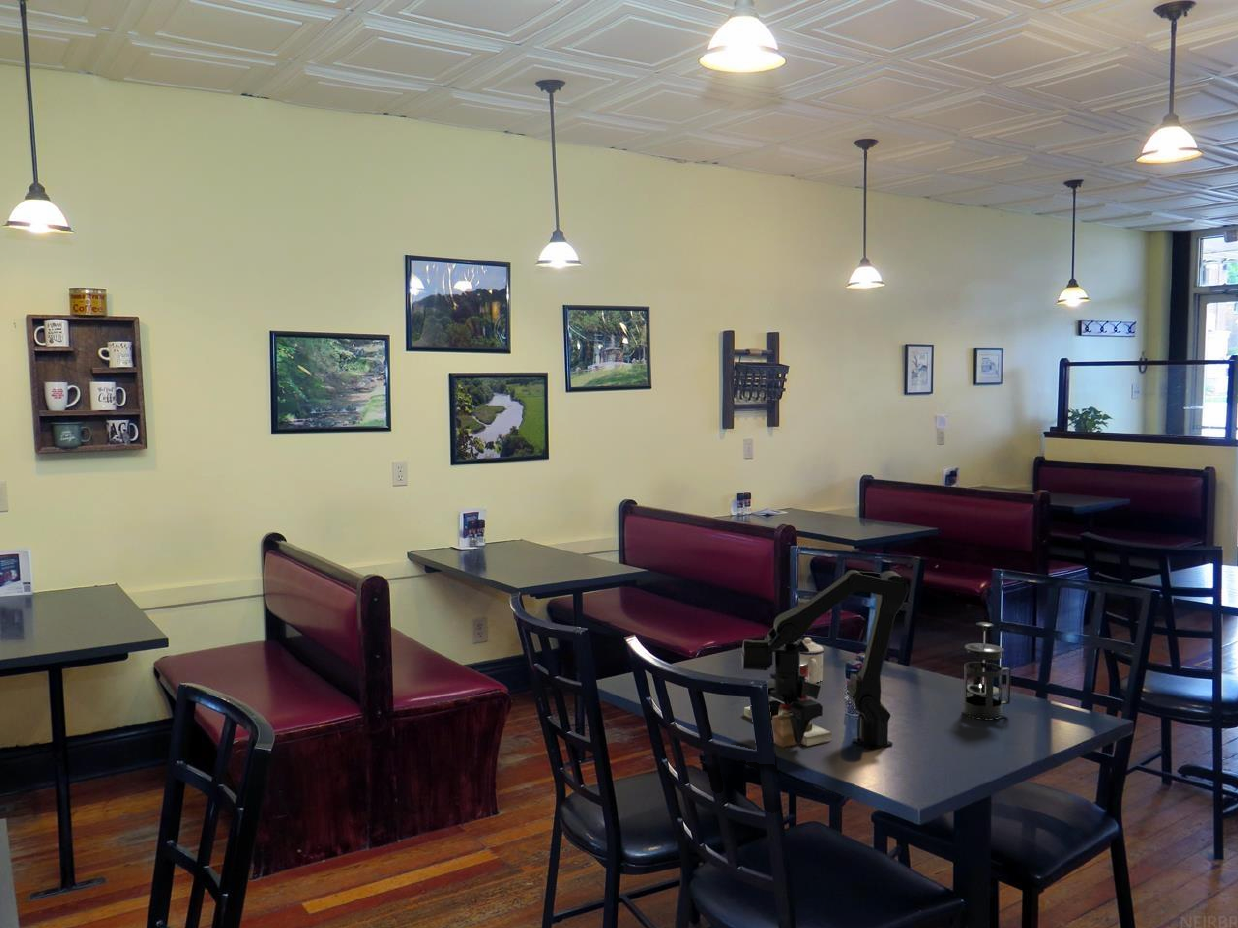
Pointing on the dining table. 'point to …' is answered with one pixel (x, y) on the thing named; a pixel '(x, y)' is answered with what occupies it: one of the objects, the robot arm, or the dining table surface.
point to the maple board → (809, 736)
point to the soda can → (805, 671)
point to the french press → (983, 694)
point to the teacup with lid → (813, 660)
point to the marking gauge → (784, 729)
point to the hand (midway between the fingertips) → (786, 737)
